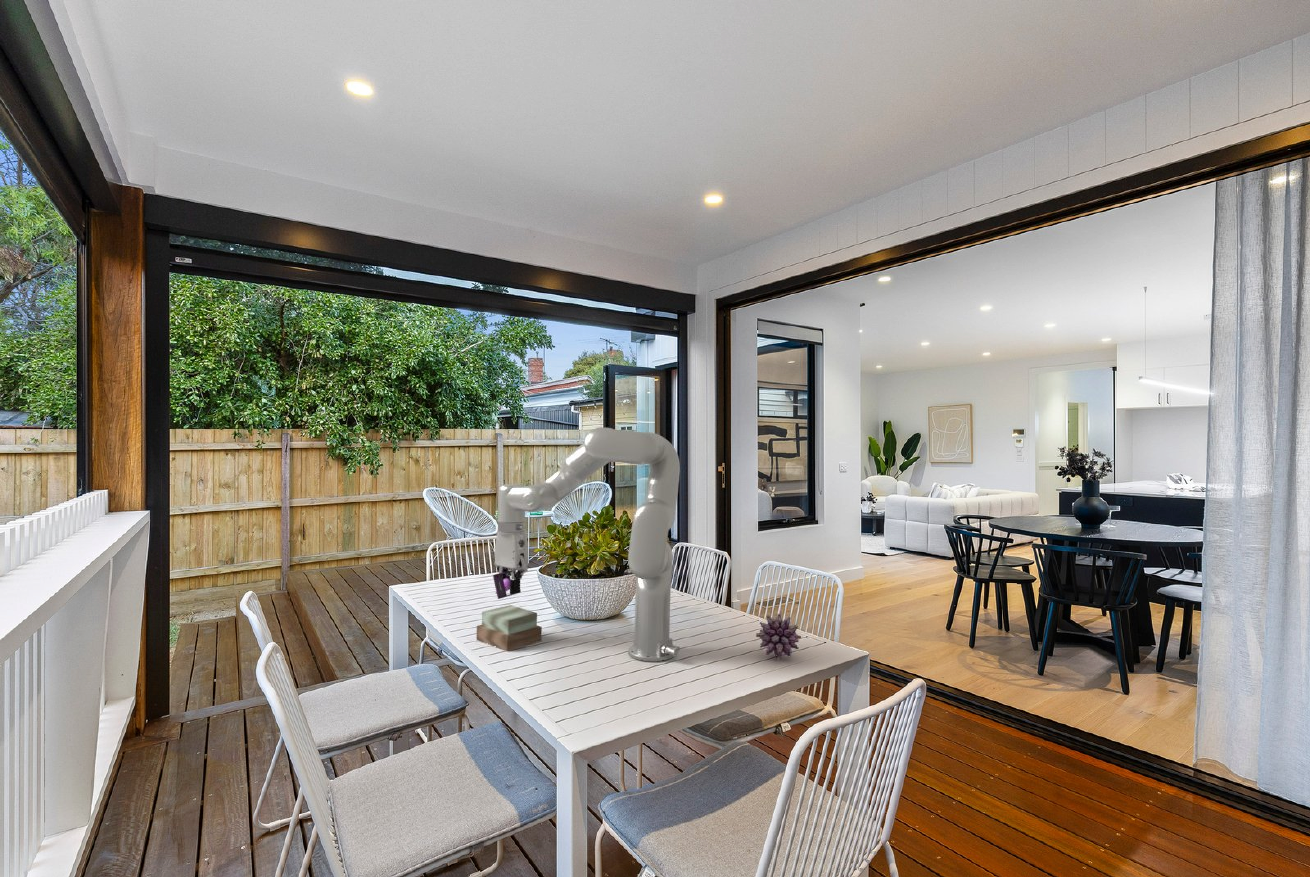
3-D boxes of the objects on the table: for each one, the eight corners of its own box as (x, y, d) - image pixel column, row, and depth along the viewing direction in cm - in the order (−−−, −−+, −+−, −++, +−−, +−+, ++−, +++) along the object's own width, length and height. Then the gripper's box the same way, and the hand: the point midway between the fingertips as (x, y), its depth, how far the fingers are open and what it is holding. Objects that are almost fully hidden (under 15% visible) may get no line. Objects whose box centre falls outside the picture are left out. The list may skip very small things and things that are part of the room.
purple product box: (495, 574, 174) (517, 568, 182) (482, 578, 176) (504, 572, 184) (500, 598, 173) (523, 591, 181) (487, 602, 175) (509, 595, 183)
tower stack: (541, 640, 181) (542, 612, 181) (507, 651, 171) (507, 621, 171) (510, 630, 189) (511, 603, 189) (476, 639, 180) (477, 611, 180)
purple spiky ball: (786, 669, 162) (787, 623, 162) (747, 657, 170) (748, 613, 170) (808, 658, 171) (809, 614, 171) (770, 647, 179) (771, 605, 179)
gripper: (540, 529, 178) (539, 594, 178) (503, 523, 188) (502, 584, 189) (519, 532, 172) (517, 599, 172) (482, 525, 183) (481, 589, 183)
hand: (509, 591), depth 180 cm, fingers closed on purple product box, 3 cm apart
